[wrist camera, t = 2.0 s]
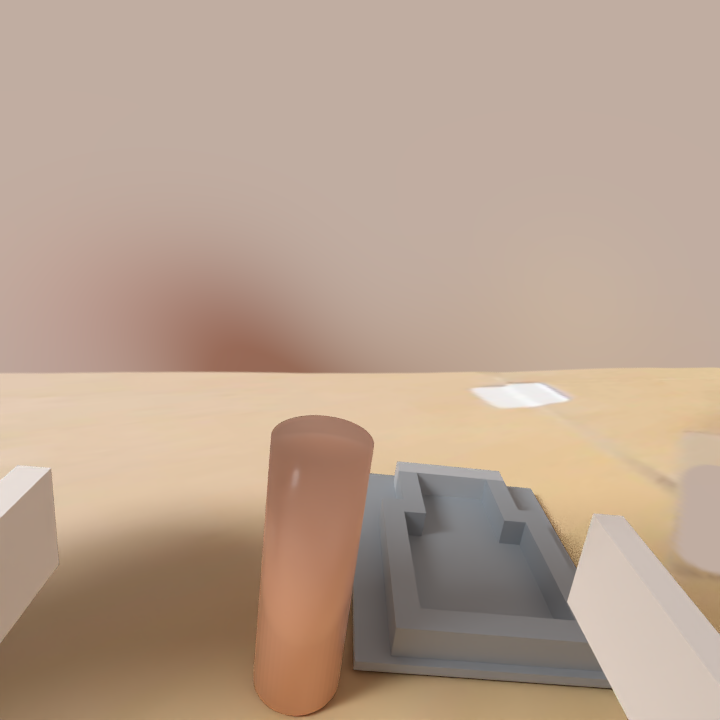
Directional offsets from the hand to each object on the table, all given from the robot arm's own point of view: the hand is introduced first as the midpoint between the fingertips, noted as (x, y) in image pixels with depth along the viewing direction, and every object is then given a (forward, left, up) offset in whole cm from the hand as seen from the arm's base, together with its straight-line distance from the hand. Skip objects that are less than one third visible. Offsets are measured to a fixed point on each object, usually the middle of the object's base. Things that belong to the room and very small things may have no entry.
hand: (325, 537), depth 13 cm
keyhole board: (+11, +20, -17) cm, 28 cm away
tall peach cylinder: (0, +10, -17) cm, 19 cm away
